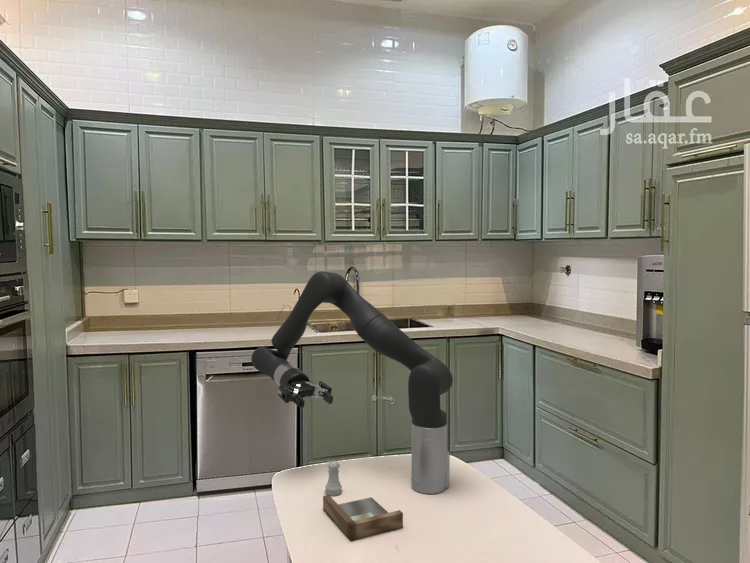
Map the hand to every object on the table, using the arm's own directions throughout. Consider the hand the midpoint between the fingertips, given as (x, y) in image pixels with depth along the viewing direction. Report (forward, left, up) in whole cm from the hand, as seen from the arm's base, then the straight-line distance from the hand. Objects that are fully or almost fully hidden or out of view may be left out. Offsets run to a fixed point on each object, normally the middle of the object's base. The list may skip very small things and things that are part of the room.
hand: (317, 402), depth 146 cm
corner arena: (-2, +23, -22) cm, 32 cm away
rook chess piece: (-2, +7, -22) cm, 23 cm away
